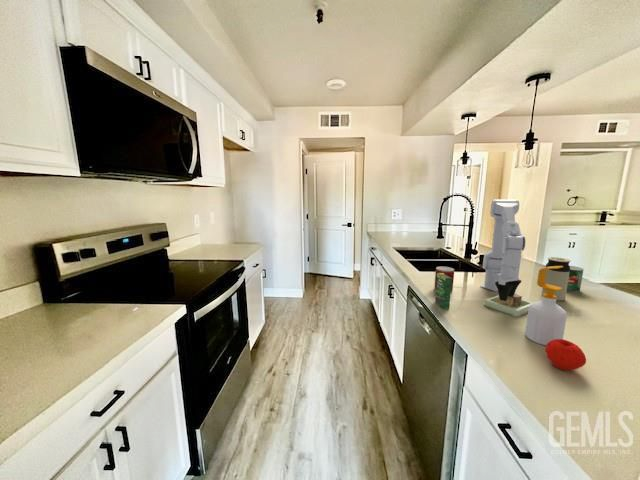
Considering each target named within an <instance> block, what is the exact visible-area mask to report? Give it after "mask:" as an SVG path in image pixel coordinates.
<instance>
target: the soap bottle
mask: <svg viewBox="0 0 640 480" xmlns="http://www.w3.org/2000/svg"><path fill="white" fill-rule="evenodd" d="M562 267H563V266H550V267H546V266H545V267H542V268H540V269H539V270H538V275H537V281H536V282H537V283H536V284H537V285H538V287H540V288H545V290H546V291H547V292H546V294H543V296H542V295H541V296H542V297H541V300H539V301H534V302H532V304H531V305H530V306H529V309H528V313H527V316H526V325H525V331H524V335H525V337H526V338H527V339H529V340H531V341H532V342H534V343H537V344H539V345H542V346H545V345H547V343H548V342H550V341H552V340H555V339H563V340H564V335H565V330H566V329H565V328H566V322H567V318H568V315H567V312H566V310H565V309H564V308H563V307H561V306H560V305H559V304H557V300H556V298H557V297H556V296H555V295H553V294H554V292H556V291H559V290H562V288H561V287H558V286H554V285H549V284H546V282H545V277H546V271H547V269H559V268H562Z"/></svg>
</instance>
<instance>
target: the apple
mask: <svg viewBox="0 0 640 480" xmlns="http://www.w3.org/2000/svg"><path fill="white" fill-rule="evenodd" d="M544 350H545V354H546V357H547V359H548V361H550V363H551V364H552V365H553V366H554V367H556V368H558V369H560V370H562V371H568V372H569V371H575V370H578V369H579V368H582V367H584V366H585V365H586V363H587V358H586V354H585V353H584V352H583V350H582V349H581V347H580V346H579V345H577V344H575V343H574V342H571V341H569V340H566V339H564V338H563V339H555V340H552V341H550V342H548V343H547V345H546V346H545V349H544Z"/></svg>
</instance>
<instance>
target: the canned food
mask: <svg viewBox="0 0 640 480" xmlns="http://www.w3.org/2000/svg"><path fill="white" fill-rule="evenodd" d="M437 273H443V274H445V275H447V276H448V277H450V278H452V281H451V293H452V292H453V289H454V279H455V269H454V268H453V267H449V266H442V265H441V266H436V268H435V274H434V275H435V276H434V278H435V279H434V290H435V291H436V280H437Z"/></svg>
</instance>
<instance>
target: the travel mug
mask: <svg viewBox="0 0 640 480" xmlns="http://www.w3.org/2000/svg"><path fill="white" fill-rule="evenodd" d="M547 260H548V262H547V263H545V268H546V267H550V266H563V267H562V268H559V269H547V271H546V277H545V282H546V284H549V285H554V286H558V287H561V288H562V290H559V291H556V292H554V294H553V295H555V296H556V297H557V298H556V302H559V301H560V302H561V301H565V299H566V294H567V291H566V290H567V284H568V278H569V272H570V266H571V265H570V263H571V261H572V260H570V259H568V258H565V257H559V256H557V257H556V256H548V257H547ZM541 288H542V287H541ZM546 292H547V291H546V290H545V288H542V289H541V296H543V294H546Z"/></svg>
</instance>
